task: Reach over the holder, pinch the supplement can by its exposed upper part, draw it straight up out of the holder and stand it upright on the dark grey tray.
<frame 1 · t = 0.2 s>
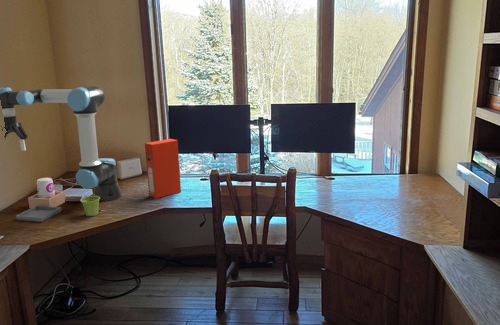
hand: (14, 153, 230), 28 cm above the table, tool pointing down, fingers open, 13 cm apart
supplement can: (48, 205, 227), resting in holder
tray: (39, 215, 211), on the table
holder: (48, 204, 227), on the table
plant pot: (92, 214, 212), on the table
file binder: (165, 194, 243), on the table
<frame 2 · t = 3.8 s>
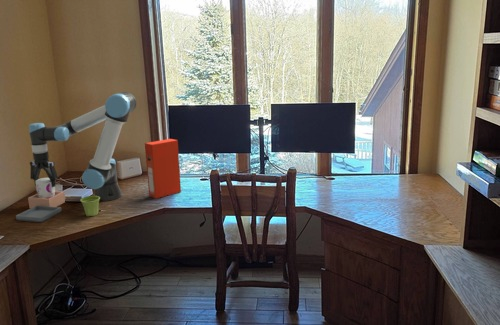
hand: (46, 191, 225), 8 cm above the table, tool pointing down, fingers closed on supplement can, 8 cm apart
supplement can: (48, 205, 227), resting in holder, touching gripper
everything else where it was.
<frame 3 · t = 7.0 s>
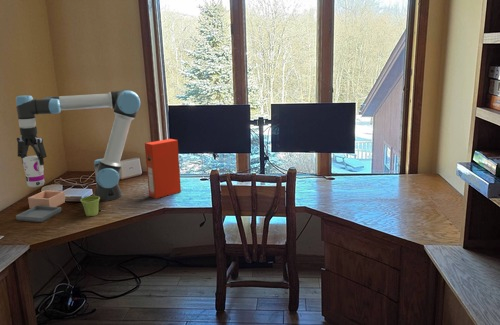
hand: (34, 170, 208), 24 cm above the table, tool pointing down, fingers closed on supplement can, 8 cm apart
supplement can: (36, 185, 210), point 16 cm above the table, touching gripper
everything else where it was.
when the fingers open (10 cm above the table, at t = 10.6 s): supplement can drops 2 cm, resting on tray.
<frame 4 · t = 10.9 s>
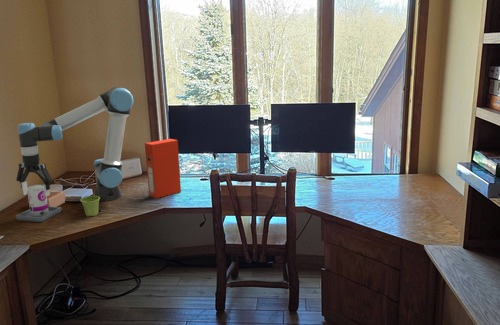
hand: (36, 194, 208), 11 cm above the table, tool pointing down, fingers open, 12 cm apart
supplement can: (40, 214, 211), point 1 cm above the table, touching tray
everything else where it was.
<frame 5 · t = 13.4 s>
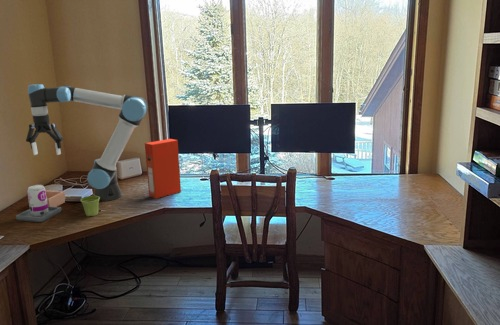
hand: (47, 154, 215), 30 cm above the table, tool pointing down, fingers open, 13 cm apart
nothing on the table moved.
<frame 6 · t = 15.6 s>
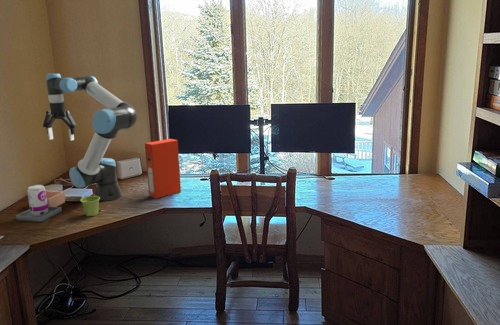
hand: (61, 139, 230), 35 cm above the table, tool pointing down, fingers open, 13 cm apart
nothing on the table moved.
at the end: supplement can 0.3 cm off-centre on the tray, point 0.6 cm above the tray's base; supplement can tilted 0°; the gripper is holding nothing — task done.
